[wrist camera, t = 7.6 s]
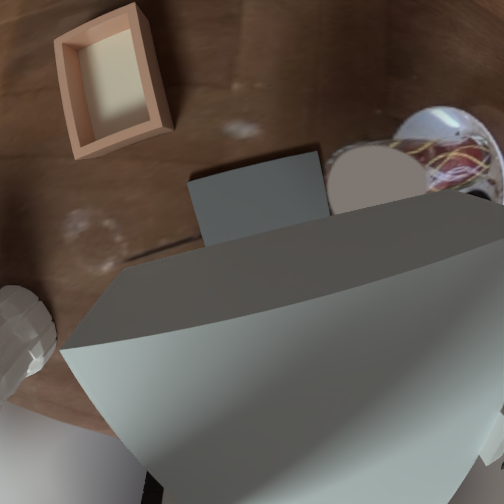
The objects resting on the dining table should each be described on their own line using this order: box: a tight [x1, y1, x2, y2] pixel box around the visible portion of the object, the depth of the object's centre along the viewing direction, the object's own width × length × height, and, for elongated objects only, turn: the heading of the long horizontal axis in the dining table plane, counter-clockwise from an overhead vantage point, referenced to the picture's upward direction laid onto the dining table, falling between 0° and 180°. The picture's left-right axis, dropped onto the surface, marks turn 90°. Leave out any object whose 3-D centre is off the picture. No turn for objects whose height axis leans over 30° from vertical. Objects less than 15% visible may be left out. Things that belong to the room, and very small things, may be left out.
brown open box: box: [54, 2, 175, 160], centre depth 22 cm, size 12×8×5 cm, turn 14°
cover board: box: [60, 189, 504, 504], centre depth 9 cm, size 15×10×4 cm, turn 14°
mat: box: [187, 151, 330, 247], centre depth 30 cm, size 16×12×1 cm
